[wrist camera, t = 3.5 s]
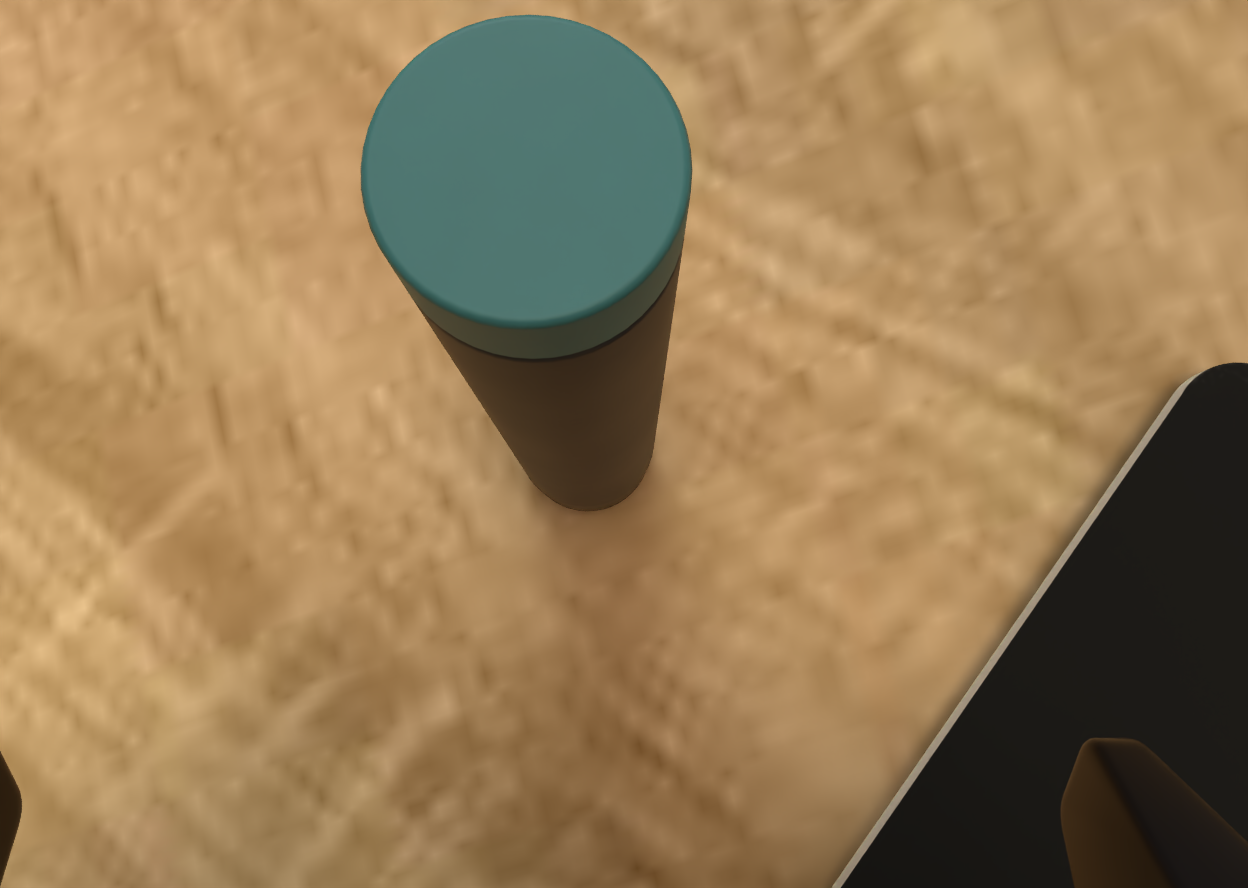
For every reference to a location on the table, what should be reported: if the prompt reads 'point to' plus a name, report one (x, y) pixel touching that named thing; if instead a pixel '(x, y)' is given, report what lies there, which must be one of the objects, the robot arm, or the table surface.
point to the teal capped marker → (540, 236)
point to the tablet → (1099, 666)
